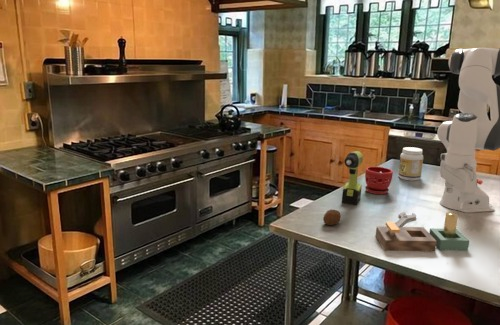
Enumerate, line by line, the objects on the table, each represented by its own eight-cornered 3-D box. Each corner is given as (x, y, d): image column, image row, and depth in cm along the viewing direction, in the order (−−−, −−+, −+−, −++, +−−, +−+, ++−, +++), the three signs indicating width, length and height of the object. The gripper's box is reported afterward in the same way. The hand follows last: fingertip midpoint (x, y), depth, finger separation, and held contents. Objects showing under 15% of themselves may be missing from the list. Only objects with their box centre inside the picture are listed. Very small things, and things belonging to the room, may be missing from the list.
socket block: (422, 236, 157) (423, 227, 156) (435, 251, 145) (436, 241, 144) (375, 235, 158) (376, 226, 156) (384, 250, 146) (385, 240, 145)
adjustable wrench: (391, 236, 159) (392, 232, 158) (376, 231, 163) (376, 227, 162) (417, 218, 176) (418, 214, 175) (403, 214, 180) (403, 210, 180)
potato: (343, 221, 171) (344, 207, 169) (335, 229, 163) (336, 215, 161) (328, 218, 174) (329, 204, 173) (320, 226, 166) (321, 212, 165)
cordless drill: (352, 213, 180) (356, 158, 173) (336, 210, 183) (339, 156, 176) (361, 197, 200) (365, 147, 194) (347, 195, 203) (350, 146, 196)
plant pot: (387, 197, 200) (390, 174, 197) (361, 193, 206) (362, 170, 203) (393, 190, 211) (395, 168, 208) (367, 186, 217) (369, 164, 214)
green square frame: (455, 238, 156) (456, 228, 155) (467, 250, 146) (469, 240, 145) (428, 238, 156) (430, 228, 155) (439, 250, 146) (441, 240, 145)
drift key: (392, 237, 155) (393, 222, 153) (398, 245, 148) (399, 229, 146) (384, 236, 155) (385, 221, 153) (389, 245, 148) (391, 229, 146)
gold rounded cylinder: (450, 241, 153) (455, 212, 150) (455, 246, 149) (460, 216, 146) (439, 241, 153) (444, 211, 150) (444, 246, 149) (448, 216, 146)
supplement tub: (394, 175, 237) (397, 146, 233) (414, 174, 238) (417, 146, 234) (404, 181, 225) (407, 151, 221) (424, 180, 227) (428, 151, 222)
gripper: (484, 168, 133) (478, 208, 136) (455, 152, 152) (451, 187, 156) (465, 169, 133) (459, 208, 137) (438, 153, 152) (434, 187, 156)
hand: (454, 197), depth 147 cm, fingers open, 8 cm apart
